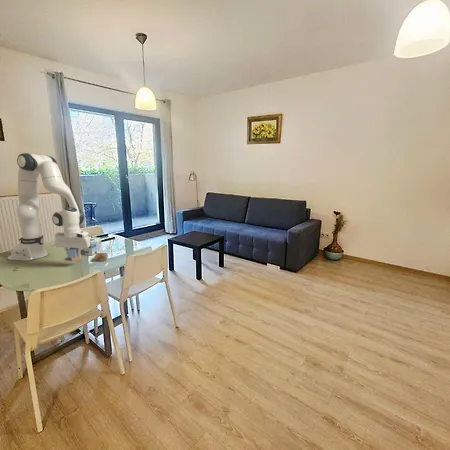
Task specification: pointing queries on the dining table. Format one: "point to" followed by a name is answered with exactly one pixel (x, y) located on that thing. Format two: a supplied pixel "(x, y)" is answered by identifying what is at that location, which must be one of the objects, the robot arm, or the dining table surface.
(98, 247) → the light bulb box
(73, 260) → the terracotta block
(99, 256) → the walnut block
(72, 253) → the slate block
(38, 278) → the dining table surface
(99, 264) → the tile
